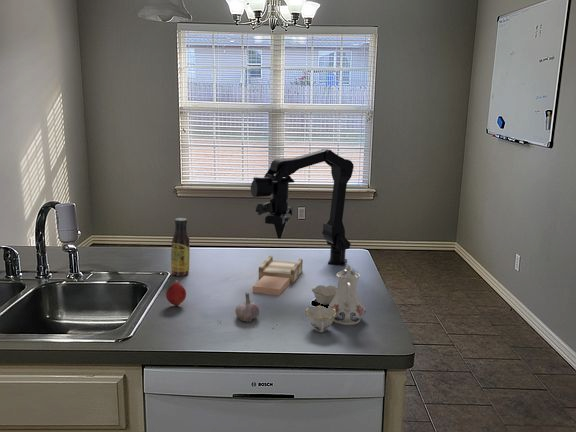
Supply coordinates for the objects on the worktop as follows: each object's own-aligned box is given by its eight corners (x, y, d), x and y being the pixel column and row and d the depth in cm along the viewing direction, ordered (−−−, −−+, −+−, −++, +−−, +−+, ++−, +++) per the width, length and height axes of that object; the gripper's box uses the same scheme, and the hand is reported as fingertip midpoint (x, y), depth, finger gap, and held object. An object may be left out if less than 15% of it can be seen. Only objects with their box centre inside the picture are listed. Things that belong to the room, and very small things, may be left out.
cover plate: (264, 281, 191) (264, 274, 190) (289, 284, 188) (289, 277, 188) (252, 293, 180) (252, 286, 179) (279, 296, 177) (279, 289, 177)
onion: (169, 310, 163) (168, 284, 161) (164, 304, 168) (163, 278, 166) (188, 307, 165) (188, 282, 164) (183, 301, 170) (182, 276, 169)
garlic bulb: (249, 326, 154) (249, 298, 152) (228, 320, 157) (228, 293, 156) (265, 317, 160) (265, 290, 158) (244, 311, 164) (244, 285, 162)
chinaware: (309, 304, 175) (305, 253, 171) (362, 301, 173) (359, 250, 170) (307, 343, 147) (302, 284, 144) (370, 340, 146) (367, 280, 143)
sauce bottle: (167, 275, 194) (166, 219, 190) (177, 270, 200) (176, 216, 195) (184, 277, 192) (182, 221, 187) (193, 272, 197) (192, 218, 193)
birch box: (269, 267, 205) (269, 255, 204) (302, 270, 202) (302, 258, 201) (258, 279, 191) (258, 267, 190) (293, 283, 189) (294, 270, 188)
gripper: (265, 189, 207) (264, 230, 210) (250, 198, 189) (250, 243, 192) (294, 191, 204) (293, 232, 207) (282, 200, 186) (281, 245, 190)
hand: (279, 238), depth 199 cm, fingers closed
